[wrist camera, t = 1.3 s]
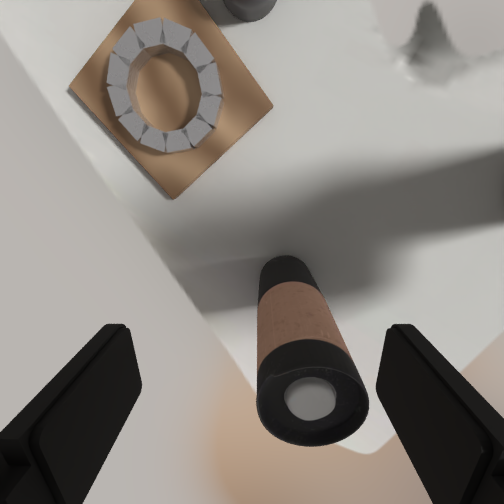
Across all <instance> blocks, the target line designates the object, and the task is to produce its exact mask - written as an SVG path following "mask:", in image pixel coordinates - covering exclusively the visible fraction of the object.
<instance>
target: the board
mask: <svg viewBox="0 0 504 504" xmlns="http://www.w3.org/2000/svg"><path fill="white" fill-rule="evenodd" d="M159 17H160V18H161V19H162V21H164V18H166V19H168V20H171V21H173V22H175V23H178V24H180V25H182V26H185V27H187V28H189V29H192V31H193V33H196V34H197V36H198V37H199V38H200V40H201V41H202V42H203V44H204V45H205V47H206V48H207V49H208V51H209V52H210V53H211V55H212V56H213V57H214V59H215V61H216V64H217V66H218V68H219V72H220V77H221V83H222V88H223V94H224V99H222V100H223V101H224V105H223V109H222V112H221V116H220V120H219V123H218V127H217V128H215V127H212V126H211V127H212V128H213V129H214V130H215V132H214V133H213V134H212V135H211V136H210V137H209V138H208V139H207V140H206V141H205V142H204V143H203V144H202V145H201V146H200V147H199V148H197V147H195V149H194V150H189V151H184V152H179V153H165V152H162V151H159V150H157V149H154V148H152V147H149V146H146V145H144V144H141V143H140V142H139V141H137V140H136V139H135V138H134V137H133V136H132V135H131V134H130V132H129V131H128V130H127V129H126V128H125V127H124V126H123V125H122V124H121V122H120V121H119V120H118V119H119V118H120V117H117V116H116V114H115V111H114V108H113V105H112V102H111V98H110V95H109V92H108V89H107V87H109V86H112V85H110V84H108V83H107V75H108V68H109V60H110V53H113V54H116V53H115V51H114V50H113V49H112V48H113V47H114V46H115V44H116V43H117V42H118V41H119V39H120V38H121V37H122V35H123V34H124V33H125V32H126V30H127V29H128V28H129V27H131V28H132V29H133V30H134V31H135V29H134V25H133V24H135V23H139V22H143V21H147V20H151V19H155V18H159ZM116 55H117V54H116ZM69 87H70V88H71V89H72V90H73V91H74V92H75V93H76V95H77V96H78V97H79V98H80V99H81V100H82V101H83V102H84V103H85V104H86V105H87V106H88V108H89V109H90V110H91V111H92V112H93V113H94V114H95V115H96V116H97V117H98V118H99V120H100V121H101V122H102V123H103V124H104V125H105V126H106V127H107V128H108V129H109V130H110V132H111V133H112V134H113V135H114V136H115V137H116V138H117V139H118V140H119V141H120V142H121V144H122V145H123V146H124V147H125V148H126V149H127V150H128V151H129V152H130V153H131V154H132V156H133V157H134V158H135V159H136V160H137V161H138V162H139V163H140V164H141V165H142V166H143V168H144V169H145V170H146V171H147V172H148V173H149V174H150V175H151V176H152V177H153V178H154V179H155V181H156V182H157V183H158V184H159V185H160V186H161V187H162V188H163V189H164V190H165V191H166V193H167V194H168V195H169V196H170V197H171V198H172V199H176V198H177V197H178V196H179V195H180V194H181V193H182V192H183V191H185V190H186V189H187V188H188V187H189V186H190V185H191V184H192V183H193V182H194V181H195V180H196V179H197V178H198V177H200V176H201V175H202V174H203V173H204V172H205V171H206V170H207V169H208V168H209V167H210V166H211V165H212V164H213V163H214V162H216V161H217V160H218V159H219V158H220V157H221V156H222V155H223V154H224V153H225V152H226V151H227V150H228V149H229V148H231V147H232V146H233V145H234V144H235V143H236V142H237V141H238V140H239V139H240V138H241V137H242V136H243V135H244V134H245V133H247V132H248V131H249V130H250V129H251V128H252V127H253V126H254V125H255V124H256V123H257V122H258V121H259V120H260V119H262V118H263V117H264V116H265V115H266V114H267V113H268V112H269V111H270V110H271V109H272V108H273V104H272V103H271V101H270V100H269V99H268V97H267V96H266V94H265V93H264V92H263V90H262V89H261V87H260V86H259V84H258V83H257V82H256V80H255V79H254V77H253V76H252V75H251V73H250V72H249V70H248V69H247V68H246V66H245V65H244V63H243V62H242V61H241V59H240V58H239V56H238V55H237V53H236V52H235V51H234V49H233V48H232V46H231V45H230V44H229V42H228V41H227V39H226V38H225V37H224V35H223V34H222V32H221V31H220V29H219V28H218V27H217V25H216V24H215V22H214V21H213V20H212V18H211V17H210V15H209V14H208V13H207V11H206V10H205V8H204V7H203V6H202V4H201V3H200V1H199V0H135V1H134V2H133V3H132V5H131V6H130V7H129V9H128V10H127V11H126V12H125V14H124V15H123V16H122V18H121V19H120V20H119V22H118V23H117V24H116V25H115V27H114V28H113V29H112V31H111V32H110V33H109V34H108V36H107V37H106V38H105V40H104V41H103V42H102V43H101V45H100V46H99V47H98V49H97V50H96V51H95V53H94V54H93V55H92V56H91V58H90V59H89V60H88V62H87V63H86V64H85V65H84V67H83V68H82V69H81V71H80V72H79V73H78V74H77V76H76V77H75V78H74V80H73V81H72V82H71V84H70V85H69ZM136 95H137V98H138V102H139V105H140V109H141V112H142V114H143V115H144V116H145V117H146V118H147V120H148V121H149V122H150V123H151V124H152V125H153V126H154V128H156V129H159V130H161V131H164V132H169V131H174V130H179V129H183V128H184V127H185V126H186V125H187V124H188V123H189V122H190V121H191V120H192V119H193V118H194V117H195V116H196V115H197V111H198V107H199V103H200V100H201V96H202V92H201V87H200V82H199V78H198V73H197V71H196V70H195V68H194V67H193V66H192V64H191V63H190V62H189V61H188V60H186V59H184V58H181V57H179V56H176V55H174V54H172V53H167V54H163V55H159V56H154V57H152V58H151V59H150V60H149V61H148V62H147V63H146V65H145V66H144V67H143V68H142V69H141V70H140V72H139V77H138V83H137V88H136Z"/></svg>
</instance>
